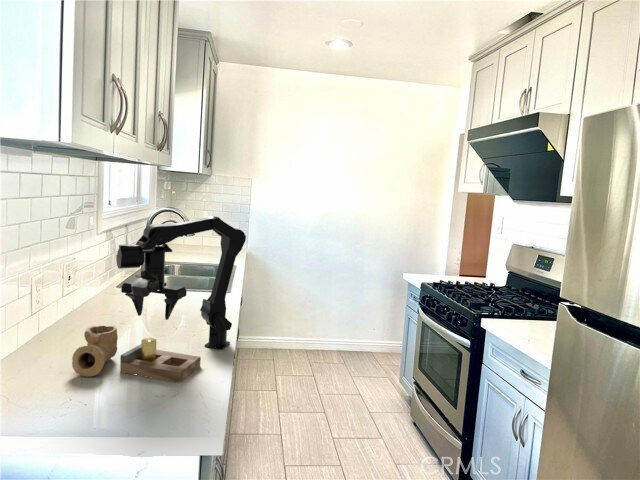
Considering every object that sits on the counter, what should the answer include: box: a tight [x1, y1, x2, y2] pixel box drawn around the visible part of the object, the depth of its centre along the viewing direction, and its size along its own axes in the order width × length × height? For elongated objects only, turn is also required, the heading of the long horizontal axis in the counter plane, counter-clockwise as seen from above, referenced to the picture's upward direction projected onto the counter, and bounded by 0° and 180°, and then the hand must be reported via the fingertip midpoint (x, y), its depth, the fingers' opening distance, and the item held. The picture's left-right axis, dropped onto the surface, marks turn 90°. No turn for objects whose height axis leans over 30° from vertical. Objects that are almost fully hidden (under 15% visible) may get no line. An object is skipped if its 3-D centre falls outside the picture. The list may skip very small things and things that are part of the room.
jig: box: [119, 343, 202, 383], centre depth 134 cm, size 12×18×5 cm, turn 77°
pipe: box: [71, 325, 119, 377], centre depth 133 cm, size 9×16×10 cm, turn 7°
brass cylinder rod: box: [140, 337, 157, 362], centre depth 135 cm, size 4×4×8 cm
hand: (153, 317), depth 142 cm, fingers open, 9 cm apart
